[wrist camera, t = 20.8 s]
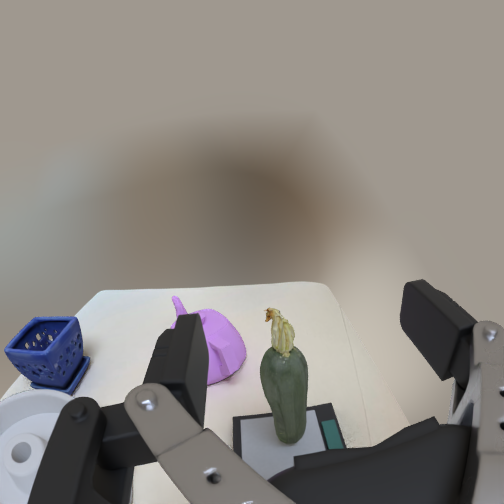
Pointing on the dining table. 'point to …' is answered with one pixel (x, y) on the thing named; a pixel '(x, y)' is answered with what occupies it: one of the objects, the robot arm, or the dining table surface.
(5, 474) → the container
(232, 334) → the teapot
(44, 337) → the flower pot
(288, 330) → the vegetable
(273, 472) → the scale
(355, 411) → the dining table surface
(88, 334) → the dining table surface
